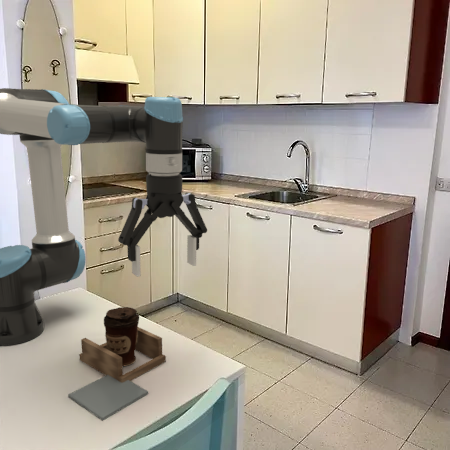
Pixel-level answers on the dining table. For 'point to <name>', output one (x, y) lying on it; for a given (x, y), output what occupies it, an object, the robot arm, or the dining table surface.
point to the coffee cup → (122, 333)
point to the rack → (112, 362)
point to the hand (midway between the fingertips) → (165, 269)
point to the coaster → (107, 396)
